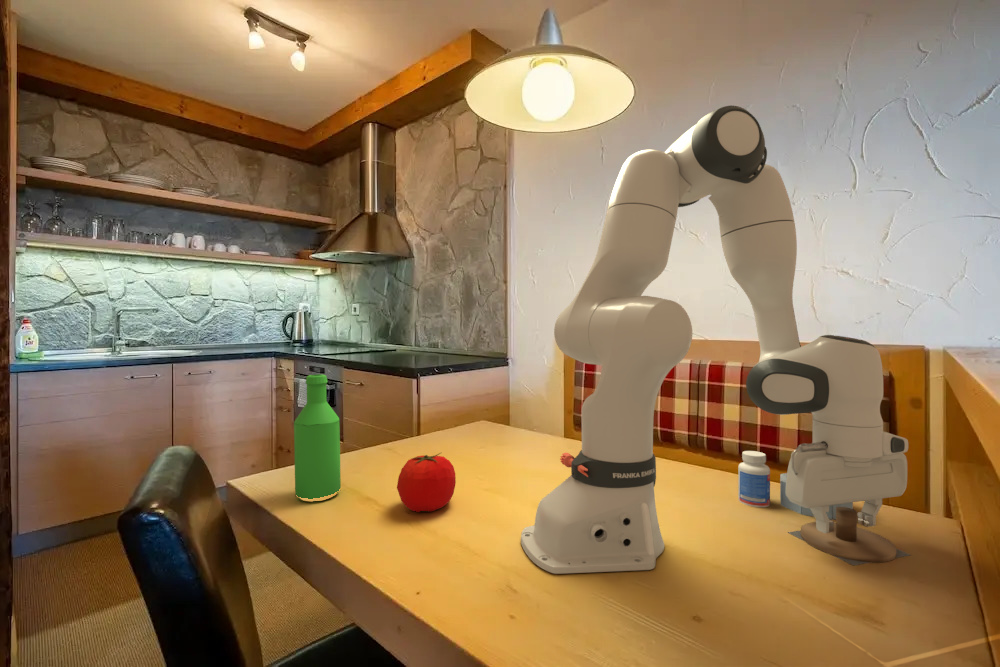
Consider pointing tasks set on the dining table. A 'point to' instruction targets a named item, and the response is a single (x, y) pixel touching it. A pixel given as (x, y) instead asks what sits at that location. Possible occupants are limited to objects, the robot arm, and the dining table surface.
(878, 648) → the dining table surface
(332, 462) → the bottle
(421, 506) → the tomato
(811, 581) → the dining table surface
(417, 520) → the dining table surface
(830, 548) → the lid
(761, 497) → the pill bottle
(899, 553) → the mat
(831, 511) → the bowl
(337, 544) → the dining table surface
